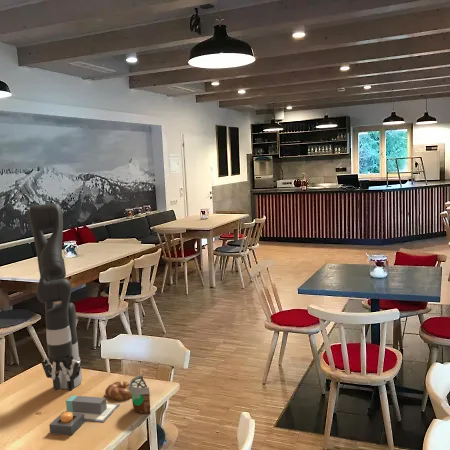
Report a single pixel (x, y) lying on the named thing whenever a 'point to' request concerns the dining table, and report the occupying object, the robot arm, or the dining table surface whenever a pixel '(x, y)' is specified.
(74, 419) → the button housing
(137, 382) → the food container
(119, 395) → the pretzel
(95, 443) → the dining table surface
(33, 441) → the dining table surface
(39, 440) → the dining table surface
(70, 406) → the marker
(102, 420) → the drawing board
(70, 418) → the button
